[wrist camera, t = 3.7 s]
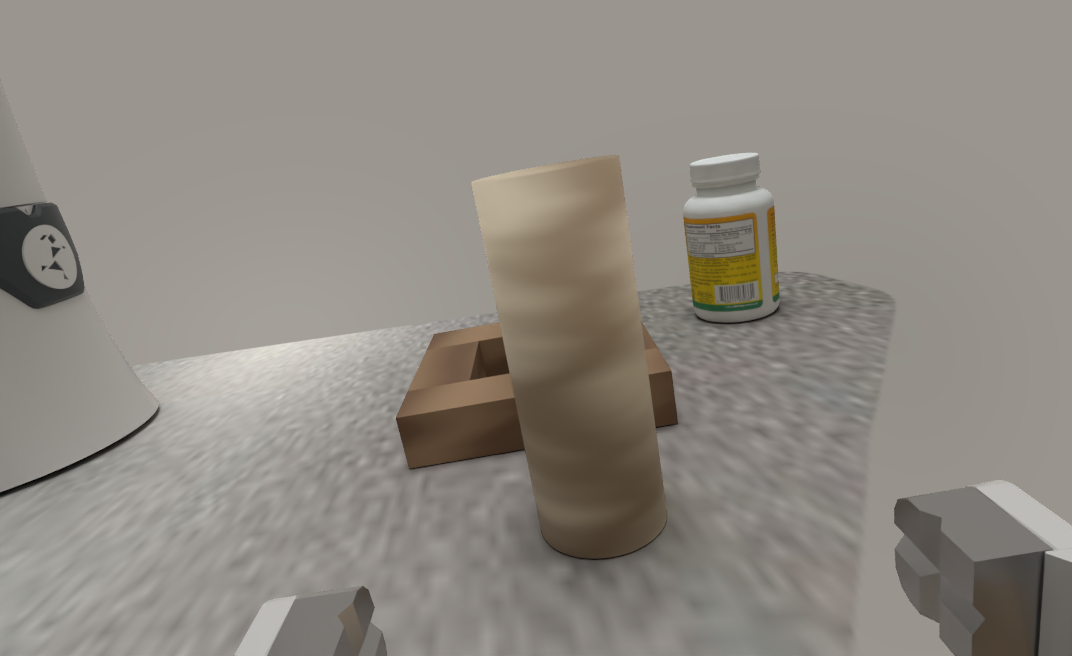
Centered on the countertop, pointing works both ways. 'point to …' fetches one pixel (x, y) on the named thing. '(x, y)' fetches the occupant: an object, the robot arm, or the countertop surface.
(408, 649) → the countertop surface
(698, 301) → the supplement bottle
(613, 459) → the dowel
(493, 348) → the socket block
